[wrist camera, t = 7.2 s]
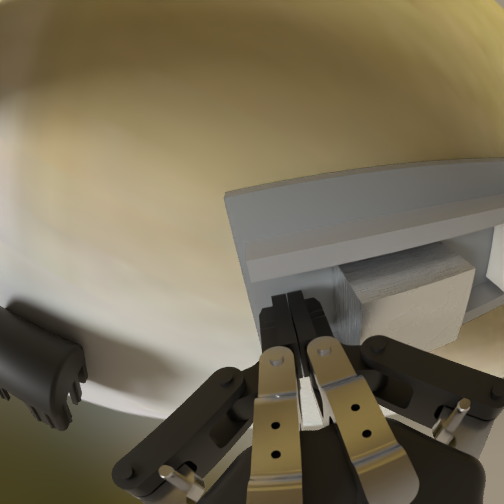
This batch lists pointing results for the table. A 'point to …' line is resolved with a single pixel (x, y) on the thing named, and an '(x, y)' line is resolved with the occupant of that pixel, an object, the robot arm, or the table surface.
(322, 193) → the gauge board
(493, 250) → the white upright block
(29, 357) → the end cap
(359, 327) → the grey textured block
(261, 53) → the table surface
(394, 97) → the table surface
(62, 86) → the table surface
